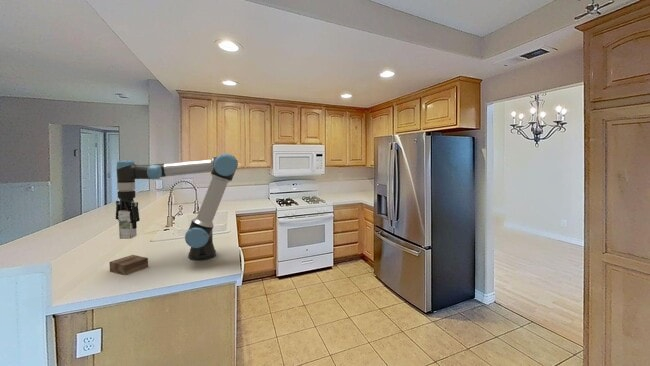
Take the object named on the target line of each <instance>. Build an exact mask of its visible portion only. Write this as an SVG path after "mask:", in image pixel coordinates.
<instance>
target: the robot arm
mask: <svg viewBox="0 0 650 366" xmlns="http://www.w3.org/2000/svg"><path fill="white" fill-rule="evenodd" d="M238 166H239V162H238V160H237V158H236V157H235V156H234V155H232V154H231V153H230V154H229V153H222V154H220V155H218V156H213V157H212V158H210V159H199V160H191V161H187V160H186V161H178V162H177V161H176V162H168V163H167V162H166V163H156V164H155V163H153V164H136V163H135V160H117V162H116V169H115V171H116V184H117V187H116V188H117V189H116V190H117V198H118V199H119V200H116V201H115V205H116V207H115V220H117V221H118V222H119V214H118V212H119V211H121V210H127V211H129V212H131V213H130V220H131V222H130V235H135V234H137V228H138V227H137V225H138V224H137V222H140V220H141V219H140V210H139V202H138V201H137V202H136V201H135V200H134V199H135V198H136V196H137V195H136V180H159V179H161V178H164V177H165V178H166V177H175V176H185V175H195V174H203V173H210V175H211V181H210V183H209V185H208V187H207V191H206V193H205V195H204V198H203V200H202V203H201V205H200V207H199V210H198V213H197V216H196V217H195V218H193V219H191V223H190V225H189V227H188V230H187V231H186V233H185V235H184V241H185V243H186V245H188V246H189V247H190V249H189V252H188V259H190V260H193V261H203V260H204V261H205V260H209V259H212V258H214V257H215V256H216V253H217V251H216V249H215V246H214V242H213V237H214V235H213V229H214V226H215V225H214V222H213V220H214V219H215V216H216V213H217V211H218V208H219V206H220V204H221V201H222V199H223V196H224V193H225V190H226V188H227V186H228V183H230V182H232V181H233V178H234V175H235V173H236V171H237V169H238Z"/></svg>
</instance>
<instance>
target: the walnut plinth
mask: <svg viewBox="0 0 650 366" xmlns="http://www.w3.org/2000/svg"><path fill="white" fill-rule="evenodd" d="M108 264H109V272H111V273H115V274H119V275H124V276H127V275H128V276H129V275H130V274H133V273H135V272H139V271H141V270H144V269H146V268H148V267H149V257H147V256H146V257H145V256H140V255H135V254H131V255H128V256H124V257H121V258H118V259H115V260H112V261H109V263H108Z"/></svg>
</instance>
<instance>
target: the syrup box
mask: <svg viewBox="0 0 650 366" xmlns="http://www.w3.org/2000/svg"><path fill="white" fill-rule="evenodd" d="M130 213H131V212H129V211H127V210H121V211H119V212H118V214H119V216H118V217H119V221H118V230H119V231H118V232H119V234H118V235H119V239H122V240H123V239H125V240H126V239H130V240H131V239H133V238H136V237H137V234H135V235H130V222H131V220H130Z"/></svg>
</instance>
